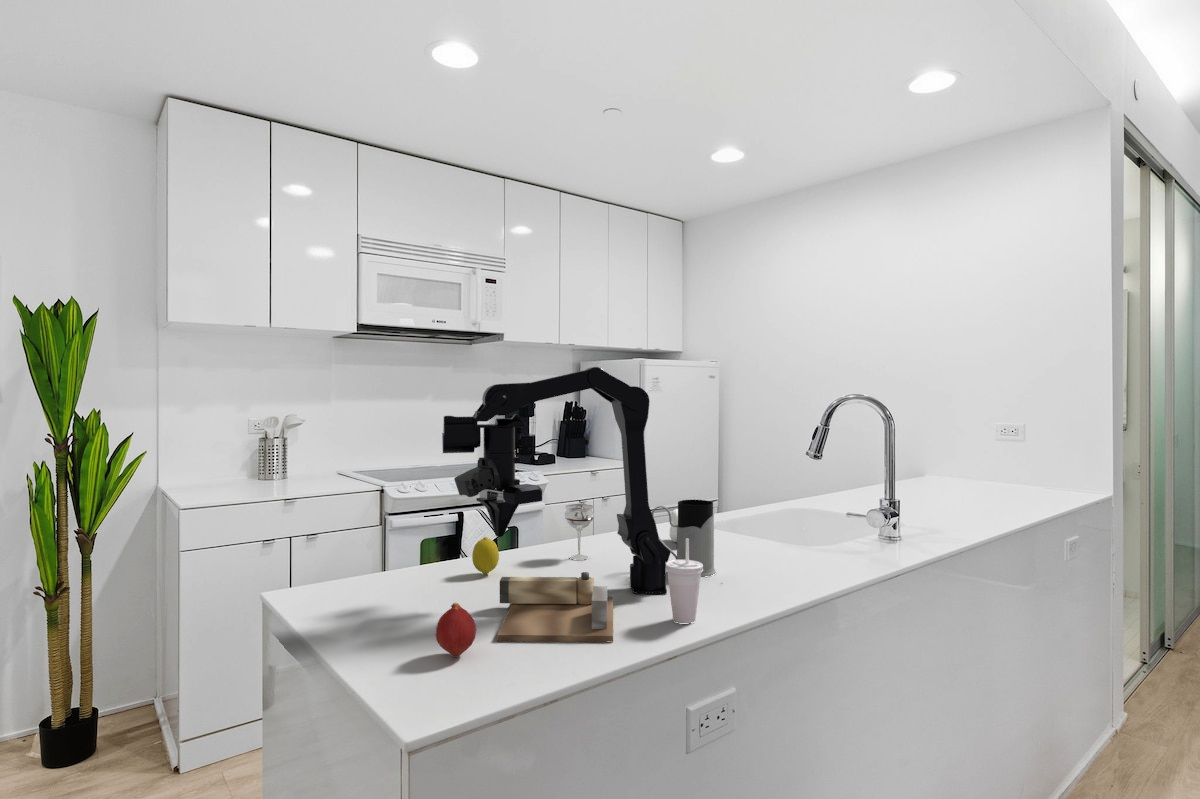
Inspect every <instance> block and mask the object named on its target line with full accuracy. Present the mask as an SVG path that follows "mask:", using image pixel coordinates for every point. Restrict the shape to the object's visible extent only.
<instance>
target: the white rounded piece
mask: <svg viewBox="0 0 1200 799" xmlns="http://www.w3.org/2000/svg"><path fill="white" fill-rule="evenodd" d="M671 519H672V524H673V525H678V508H675V509H673V511H672V512H671ZM715 528H716V521H715V519H714V530H715ZM669 538H670V540H671V541H672V542H673V543H675V542H677V527H673V526H671V525H670V528H669Z"/></svg>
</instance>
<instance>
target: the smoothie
mask: <svg viewBox="0 0 1200 799" xmlns="http://www.w3.org/2000/svg"><path fill="white" fill-rule="evenodd" d="M665 570H666V573H667V579H668V588H669V595H670V596H669V597H670V606H671V613H672V614H671V615H672V620H674V621H675V622H678V623H691V622H694V621H695V622H696V617H697V611H698V610H697V609H698V603H699V594H700V587H701V586H700V585H701V579H702V578H701V572H702V571H703V564H702V563H700V562H698V561H694V560H689V539H688V538H686V560H676V559H673V560H668V562H666V568H665ZM674 621H673V622H674ZM675 622H674V623H675Z"/></svg>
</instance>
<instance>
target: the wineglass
mask: <svg viewBox="0 0 1200 799" xmlns="http://www.w3.org/2000/svg"><path fill="white" fill-rule="evenodd" d="M564 508H565V509H566V510H565V512H564V520H565V522H566V523H567V524H568V525H569V527H571V528H573V529H575V531H577V532H576V533H577V548H578V549H577V550H578V551H577V553H578V554H575V555H571V557H570V556H569V557H570V558H571V559H576V560H575V561H584V560H583V559H587V558H588V557H589V556H588V555H584V554H581V540H582V539H581V536H582V531H583V530H584V529H585V528H587V527H589V525H591V523H592V522H593V520H594V518H595V517H594V516H595V515H594V511H593V508H594V505H592V504H586V503H575V504H574V503H573V504H567V505H565V506H564ZM571 559H570V560H571ZM587 560H588V559H587Z"/></svg>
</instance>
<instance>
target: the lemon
mask: <svg viewBox="0 0 1200 799" xmlns="http://www.w3.org/2000/svg"><path fill="white" fill-rule="evenodd" d="M471 557H472V564H473V566H474V569H476V570H477V571H478V572H481V573H482V574H483V575H484V576H487V575H488V574H489V573H490V572H492V571H493V570H494V569H496V567H497V566H498V564H499V560H500V552H499V549H498V546H497V544H496V542H495V541H494V540H492V539H490V538H488V537H487V536H485V537H483V538H482V539H480V540H478V541H477V542H476V543H475V545H474V547H473V550H472V556H471Z"/></svg>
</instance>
